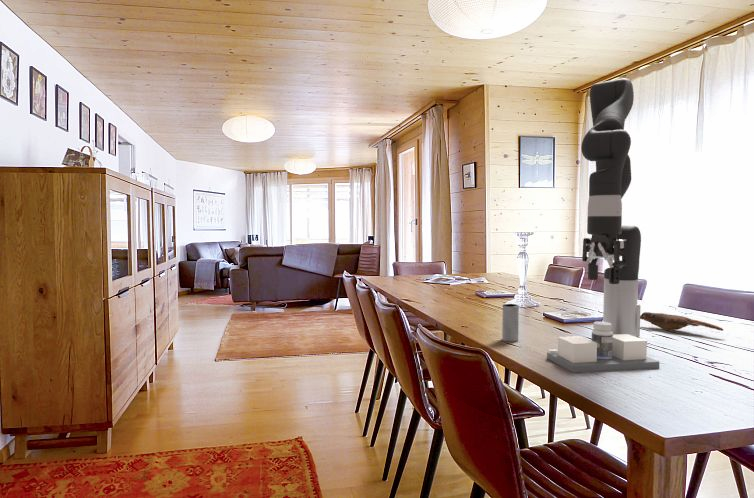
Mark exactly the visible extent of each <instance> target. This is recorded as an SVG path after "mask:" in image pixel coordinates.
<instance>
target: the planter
mask: <svg viewBox="0 0 754 498" xmlns="http://www.w3.org/2000/svg"><path fill="white" fill-rule="evenodd" d="M519 308H520V306H519V304H516V303H504V304H502V326H501V328H502V331H501V332H502V333H501V335H502V338H501V339H502V340H503V341H504V342H511V343H513V342H515V343H516V342H518V341H519V327H520V325H519V322H520V321H519V317H520V313H519V312H520V309H519Z"/></svg>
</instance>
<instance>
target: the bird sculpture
mask: <svg viewBox="0 0 754 498" xmlns="http://www.w3.org/2000/svg"><path fill="white" fill-rule="evenodd" d="M640 320H643V321H645V322H649V323H650V324H651V325H654V326H656V327H657V328H660V329H662V330H665V331H675V330H681V329H683V328H686V327H687V326H692V327H699V326H700V327H701V326H702V327H706V328H709V329H713V330H717V331H722V332H723V331H724V328H722V327H719V325H715V324H711V323H709V322H705V321H702V320H698V319H692V318H689V317H686V316H682V315H677V314H676V315H675V314H668V313H667V314H666V313H660V312H657V313H656V312H649V311H648V312H647V311H644V312H643V313H642V314H640Z"/></svg>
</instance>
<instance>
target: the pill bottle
mask: <svg viewBox="0 0 754 498" xmlns="http://www.w3.org/2000/svg"><path fill="white" fill-rule="evenodd" d="M592 328H593V330H592V331H591V341H594V342H596V343H597V359H611V358H612V354H613V333H612V331H610V330H611V328H612V324H611V323H608V322H603V321H594V322H593V327H592Z"/></svg>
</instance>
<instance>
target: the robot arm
mask: <svg viewBox="0 0 754 498" xmlns="http://www.w3.org/2000/svg"><path fill="white" fill-rule="evenodd" d="M634 93H635V92H634V86H633V83H632V81H631V80H630V79H629V78H625V77H624V78H622V77H621V78H618V79H617V78H615V79H612V80H607V81H605V80H604V81H601V82H596V83H593V84H592V85H591V87H590V89H589V103H590V111H591V120H592V127H591V128H590V129H589V130H588V131H587V132H586V134H585V135H584V137H583V138H582V142H581V148H580V152H581V154H582V156H583V157H584V159H586V160H587V161H589V162H595V171H593V172H591V173H590V175H589V179H588V186H589V187H588V199H587V200H588V202H587V214H586V215H587V216H586V217H587V218H586V219H587V220H586V223H587V225H586V226H587V227H586V233H587V234H588V235H590V236H591V237H584V238H583V240H582V255H581V256H582V259H581V260H582V262H585V263H586V265H587V279H588V280H589V281H596V280H598V277H599V273H598V272H599V265H598V263H599V262H600V259H602V258H603V259H604V260H605V261H606V262H607V263H608V267H607V268H605V270H604V272H603V304H602V305H603V307H602V309H603V310H602V311H603V313H602V314H603V315H602V318H603V319H602V322H608V323H611V324H612V328H611V330H610V331H612V333H613V335H617V334H629V335H632V336H635V337H638V338H639V337H641V336H640V335H641V334H640V333H641V319H640V316H641V305H640V303H639V304H638V302H639V301H638V300H639V299H638V294H639V293H638V292H639V270H640V256H641V244H642V243H641V242H642V234H641V230H640V229H639V227H638V226H635V225H622V224H623V223H622V221H623V219H622V218H623V216H622V215H623V208H622V207H623V201H622V199H623V198H624V196H625V194H626V192H627V191H628V190H629V187H630V186H631V183H632V166H631V158H630V155H629V151H630V148H631V145H632V144H631V143H632V140H631V135H630V134H629V133H628V131H626V130H624V129H625V124H626V123H625V122H626V120H627V117H628V116H629V114H630V113H631V110H632V108H633V105H634V100H635V98H634V97H635V95H634Z"/></svg>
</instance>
